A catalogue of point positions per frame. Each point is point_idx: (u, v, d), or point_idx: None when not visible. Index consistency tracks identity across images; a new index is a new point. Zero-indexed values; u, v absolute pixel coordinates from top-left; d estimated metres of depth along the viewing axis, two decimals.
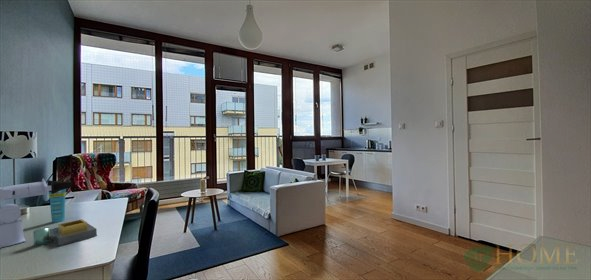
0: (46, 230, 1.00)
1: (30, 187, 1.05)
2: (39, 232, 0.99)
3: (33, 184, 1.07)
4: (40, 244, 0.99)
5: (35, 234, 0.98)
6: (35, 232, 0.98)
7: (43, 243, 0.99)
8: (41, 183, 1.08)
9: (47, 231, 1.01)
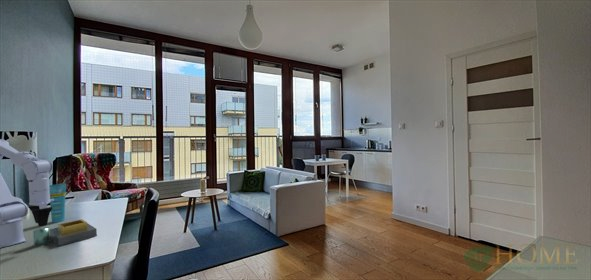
0: (46, 230, 1.00)
1: (44, 191, 1.00)
2: (39, 232, 0.99)
3: (48, 193, 1.01)
4: (40, 244, 0.99)
5: (35, 234, 0.98)
6: (35, 232, 0.98)
7: (43, 243, 0.99)
8: (48, 199, 1.01)
9: (47, 231, 1.01)
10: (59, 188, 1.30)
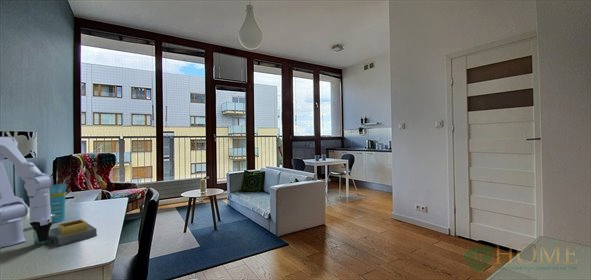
0: None
1: (45, 207, 1.00)
2: None
3: (48, 208, 1.01)
4: (40, 244, 0.99)
5: (35, 234, 0.98)
6: (35, 232, 0.98)
7: (43, 243, 0.99)
8: (49, 214, 1.01)
9: None
10: (59, 188, 1.30)
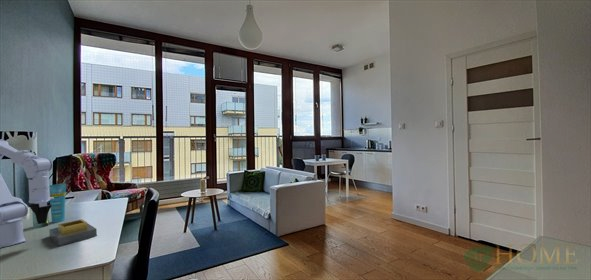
0: None
1: (44, 189, 1.00)
2: None
3: (47, 191, 1.01)
4: (39, 226, 0.99)
5: (34, 216, 0.98)
6: (34, 214, 0.98)
7: (42, 225, 0.99)
8: (48, 197, 1.01)
9: None
10: (59, 188, 1.30)
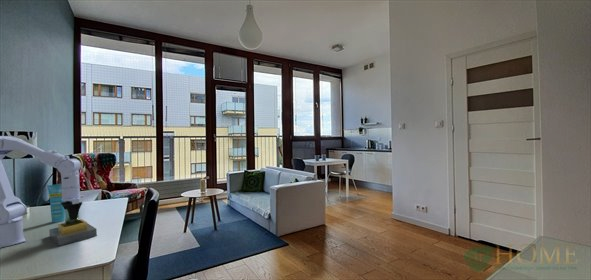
0: None
1: (75, 188, 1.07)
2: None
3: (78, 189, 1.08)
4: (71, 222, 1.06)
5: (66, 213, 1.06)
6: (66, 211, 1.06)
7: (74, 221, 1.07)
8: (78, 195, 1.08)
9: None
10: (59, 188, 1.30)
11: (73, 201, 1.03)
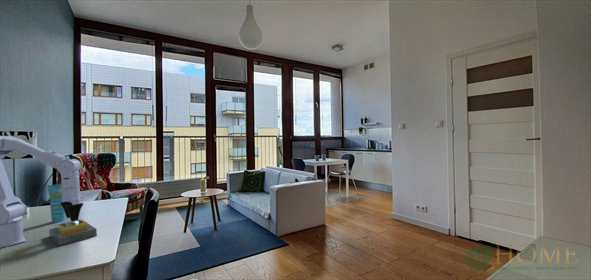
0: (77, 223, 1.08)
1: (75, 188, 1.07)
2: None
3: (78, 190, 1.08)
4: None
5: None
6: (67, 225, 1.06)
7: None
8: (78, 195, 1.08)
9: None
10: (59, 188, 1.30)
11: (73, 202, 1.03)
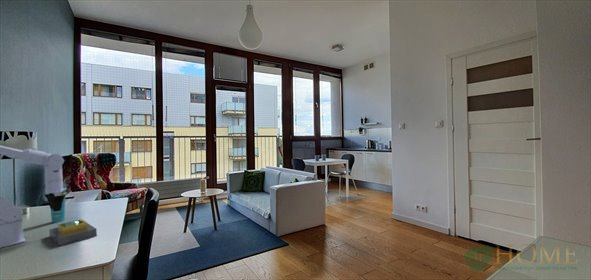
0: (77, 223, 1.08)
1: (58, 181, 1.14)
2: None
3: (61, 183, 1.15)
4: None
5: None
6: (67, 225, 1.06)
7: None
8: (61, 188, 1.15)
9: None
10: None
11: (55, 193, 1.09)
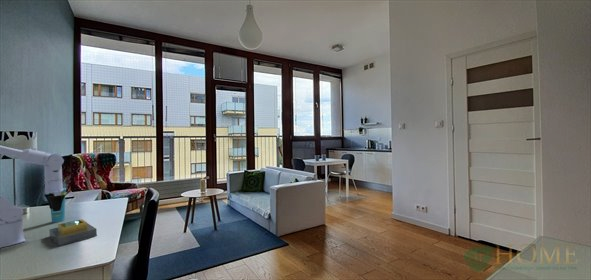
0: (77, 223, 1.08)
1: (58, 181, 1.14)
2: None
3: (61, 182, 1.15)
4: None
5: None
6: (67, 225, 1.06)
7: None
8: (61, 188, 1.15)
9: None
10: None
11: (55, 193, 1.10)
